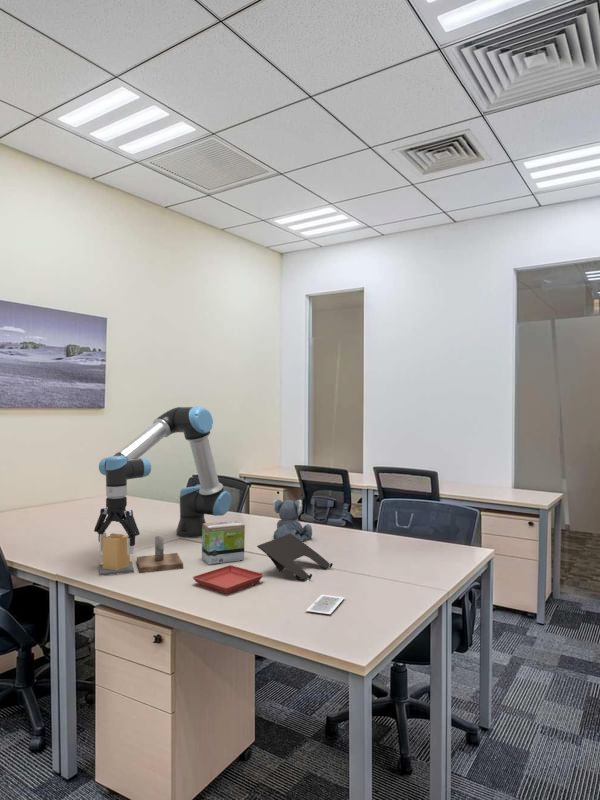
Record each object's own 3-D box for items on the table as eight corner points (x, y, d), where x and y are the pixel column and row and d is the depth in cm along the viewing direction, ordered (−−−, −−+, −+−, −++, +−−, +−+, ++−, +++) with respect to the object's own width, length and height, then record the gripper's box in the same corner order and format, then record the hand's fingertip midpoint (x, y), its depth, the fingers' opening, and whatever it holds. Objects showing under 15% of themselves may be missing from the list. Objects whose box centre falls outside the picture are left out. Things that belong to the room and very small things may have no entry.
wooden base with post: (177, 557, 222) (177, 531, 222) (183, 568, 207) (183, 539, 207) (136, 561, 216) (136, 534, 217) (139, 573, 201) (139, 543, 202)
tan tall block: (129, 565, 208) (129, 533, 208) (116, 570, 201) (116, 537, 202) (115, 563, 211) (115, 531, 211) (102, 568, 204) (102, 535, 205)
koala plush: (314, 538, 255) (314, 496, 255) (299, 547, 239) (298, 502, 239) (281, 534, 262) (281, 494, 262) (264, 543, 246) (264, 500, 246)
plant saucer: (226, 597, 176) (226, 587, 176) (191, 585, 188) (191, 576, 188) (264, 583, 190) (264, 574, 190) (230, 573, 202) (230, 564, 202)
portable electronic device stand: (297, 599, 190) (307, 577, 188) (250, 561, 201) (258, 540, 199) (328, 581, 210) (337, 561, 208) (283, 547, 221) (292, 528, 219)
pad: (131, 563, 214) (131, 561, 214) (133, 572, 203) (133, 569, 203) (99, 567, 210) (99, 564, 210) (99, 576, 198) (99, 573, 198)
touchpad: (344, 600, 173) (344, 594, 173) (330, 617, 159) (330, 610, 159) (321, 597, 176) (321, 591, 176) (305, 614, 162) (305, 607, 162)
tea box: (209, 565, 211) (209, 527, 211) (201, 559, 220) (201, 523, 220) (245, 560, 218) (245, 523, 218) (236, 554, 227) (236, 519, 227)
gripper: (84, 496, 208) (84, 551, 208) (135, 500, 198) (135, 558, 198) (98, 493, 215) (99, 546, 215) (148, 497, 205) (149, 553, 205)
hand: (116, 552), depth 206 cm, fingers open, 13 cm apart
